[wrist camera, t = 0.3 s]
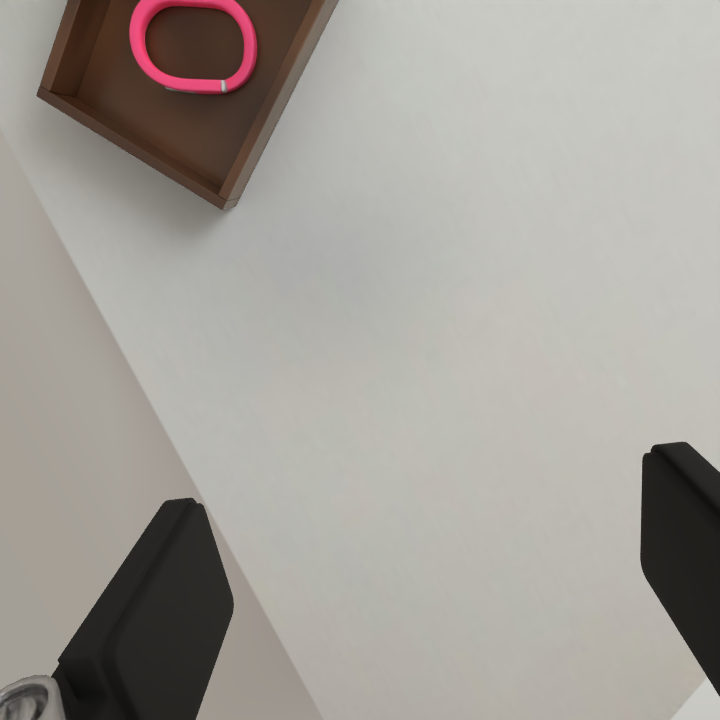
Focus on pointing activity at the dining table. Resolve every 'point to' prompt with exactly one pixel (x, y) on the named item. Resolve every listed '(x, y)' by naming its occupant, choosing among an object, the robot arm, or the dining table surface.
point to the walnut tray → (190, 61)
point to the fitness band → (140, 19)
